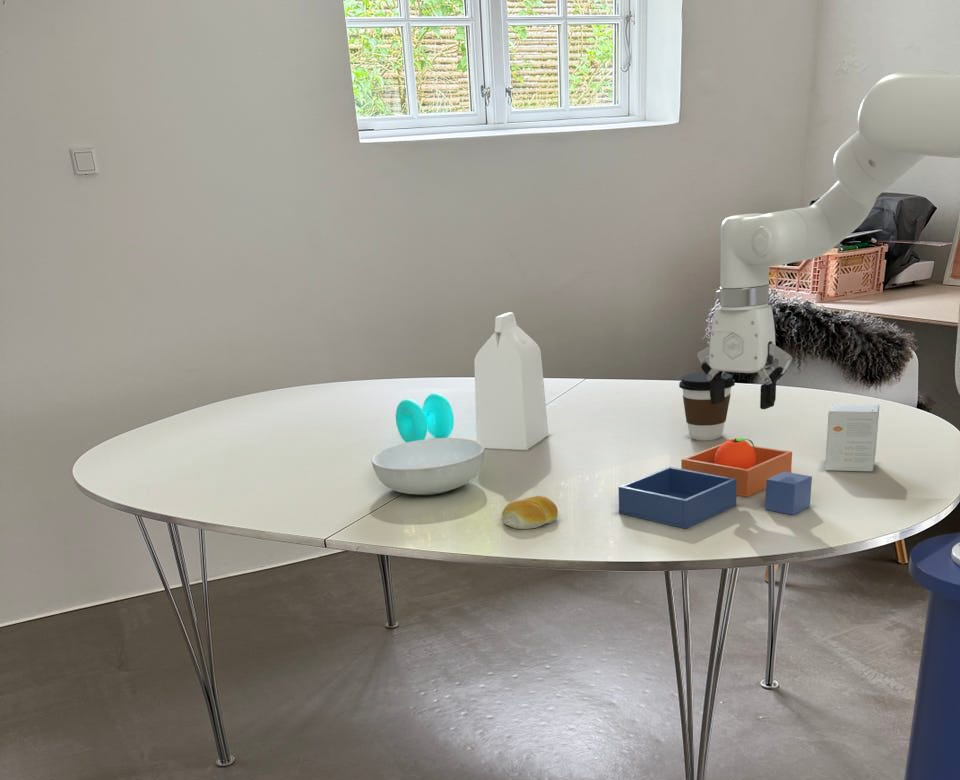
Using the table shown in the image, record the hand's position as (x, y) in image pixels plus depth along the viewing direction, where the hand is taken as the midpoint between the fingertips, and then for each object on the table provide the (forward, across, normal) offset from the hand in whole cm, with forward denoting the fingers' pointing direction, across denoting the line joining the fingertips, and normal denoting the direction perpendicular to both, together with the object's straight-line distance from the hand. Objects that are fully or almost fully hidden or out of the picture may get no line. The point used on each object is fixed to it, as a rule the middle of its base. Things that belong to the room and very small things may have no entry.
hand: (741, 405), depth 159 cm
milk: (+12, -56, -1) cm, 57 cm away
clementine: (+13, -1, 0) cm, 13 cm away
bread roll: (+13, -16, -36) cm, 41 cm away
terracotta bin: (+13, -1, 0) cm, 13 cm away
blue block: (+14, +14, -8) cm, 21 cm away
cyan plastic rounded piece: (+12, -73, -11) cm, 75 cm away
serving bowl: (+13, -45, -33) cm, 57 cm away
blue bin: (+13, 0, -18) cm, 22 cm away
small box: (+14, +11, +17) cm, 25 cm away
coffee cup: (+13, -23, +22) cm, 35 cm away
